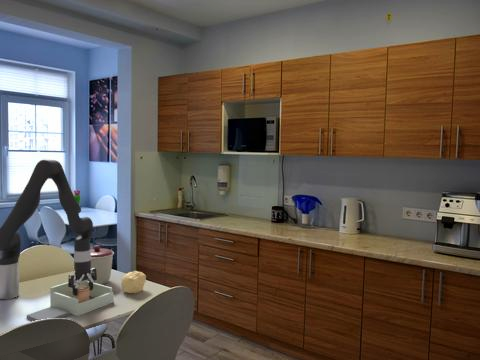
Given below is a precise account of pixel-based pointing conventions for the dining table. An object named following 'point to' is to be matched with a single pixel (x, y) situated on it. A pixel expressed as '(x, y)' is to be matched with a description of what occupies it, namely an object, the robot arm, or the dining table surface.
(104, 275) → the canister
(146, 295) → the dining table surface
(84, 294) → the terracotta pot
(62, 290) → the pale green open box
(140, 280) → the sculpture
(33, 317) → the slate board
